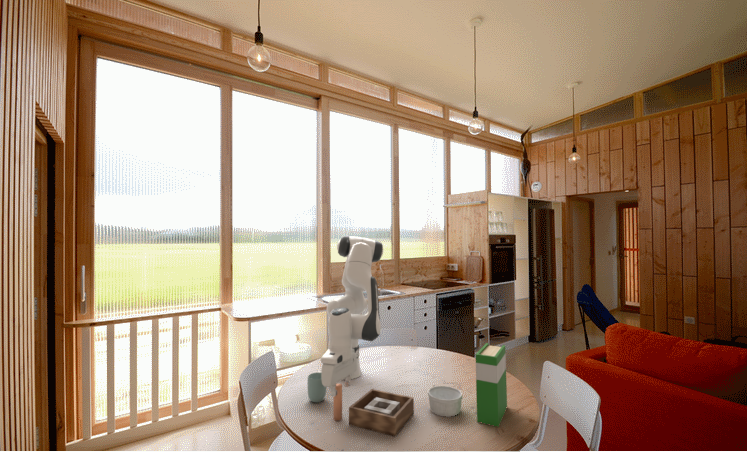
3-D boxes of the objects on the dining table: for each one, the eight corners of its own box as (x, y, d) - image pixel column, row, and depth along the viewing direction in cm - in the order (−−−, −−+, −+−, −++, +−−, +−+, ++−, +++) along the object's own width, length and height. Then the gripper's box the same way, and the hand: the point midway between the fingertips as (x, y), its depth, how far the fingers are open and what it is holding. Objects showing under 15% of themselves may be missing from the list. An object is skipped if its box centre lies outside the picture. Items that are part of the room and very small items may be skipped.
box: (348, 424, 121) (348, 407, 122) (371, 404, 137) (371, 388, 138) (395, 437, 113) (394, 418, 114) (413, 413, 129) (413, 397, 130)
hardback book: (487, 403, 138) (486, 342, 140) (507, 407, 134) (505, 345, 136) (477, 421, 123) (475, 354, 125) (498, 427, 119) (496, 357, 121)
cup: (329, 397, 143) (329, 373, 144) (320, 405, 136) (321, 380, 137) (313, 395, 146) (313, 371, 147) (303, 403, 139) (304, 377, 139)
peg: (331, 419, 125) (331, 386, 126) (336, 415, 128) (336, 382, 129) (339, 421, 124) (339, 387, 125) (343, 417, 127) (343, 384, 127)
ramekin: (456, 422, 123) (455, 402, 123) (422, 413, 130) (422, 394, 130) (467, 408, 134) (466, 389, 135) (435, 400, 141) (435, 383, 142)
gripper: (347, 345, 138) (347, 380, 137) (318, 359, 120) (318, 400, 119) (360, 346, 135) (361, 382, 134) (333, 361, 117) (333, 403, 116)
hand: (341, 390), depth 126 cm, fingers open, 8 cm apart
